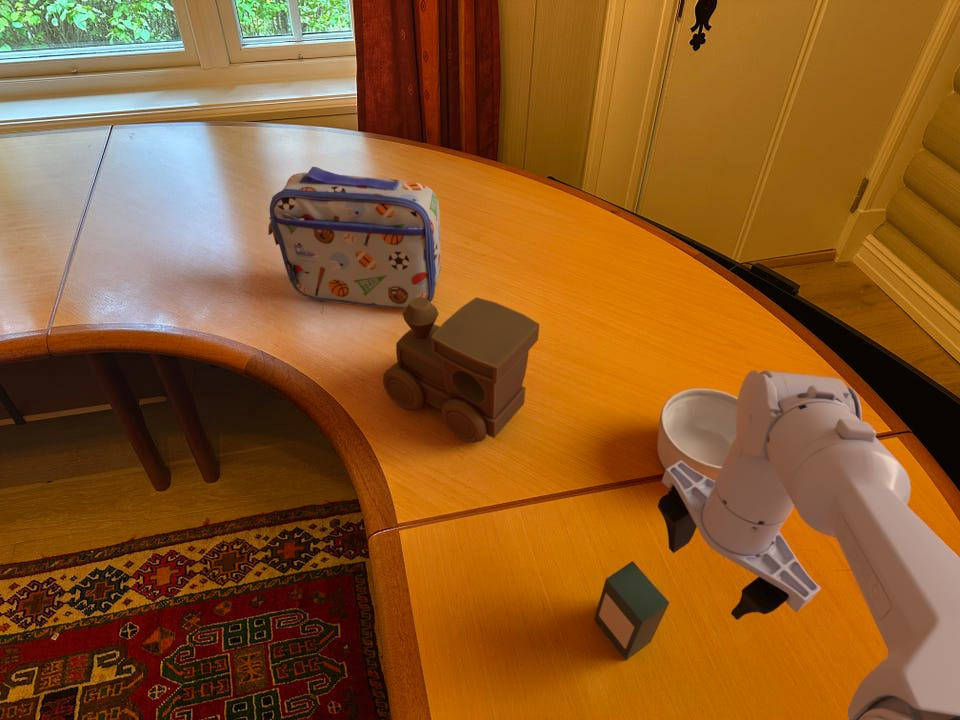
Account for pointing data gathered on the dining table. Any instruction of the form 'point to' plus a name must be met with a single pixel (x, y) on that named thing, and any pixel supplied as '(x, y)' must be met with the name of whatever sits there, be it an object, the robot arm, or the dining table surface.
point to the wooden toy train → (463, 365)
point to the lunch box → (358, 238)
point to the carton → (630, 610)
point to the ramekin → (697, 430)
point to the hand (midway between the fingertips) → (708, 577)
